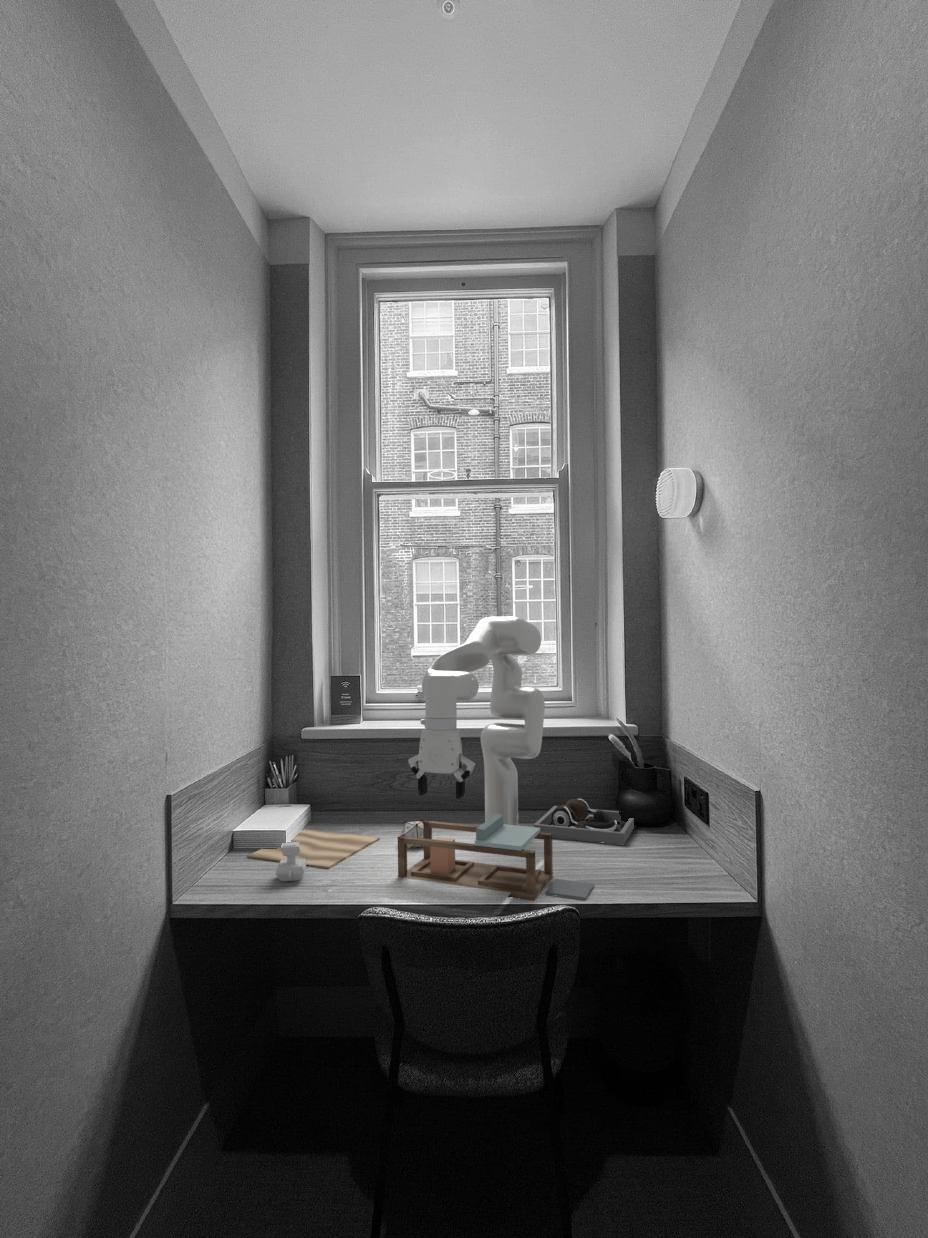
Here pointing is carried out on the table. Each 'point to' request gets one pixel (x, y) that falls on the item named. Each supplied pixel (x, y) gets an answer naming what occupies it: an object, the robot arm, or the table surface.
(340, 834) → the cork mat
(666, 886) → the table surface
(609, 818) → the headset
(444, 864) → the block
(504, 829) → the lid
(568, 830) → the tray rim
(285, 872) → the stamp
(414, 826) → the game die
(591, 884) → the coaster
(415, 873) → the frame
